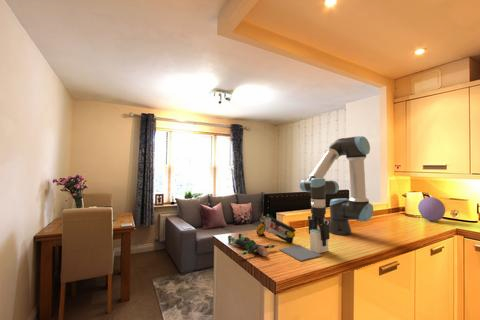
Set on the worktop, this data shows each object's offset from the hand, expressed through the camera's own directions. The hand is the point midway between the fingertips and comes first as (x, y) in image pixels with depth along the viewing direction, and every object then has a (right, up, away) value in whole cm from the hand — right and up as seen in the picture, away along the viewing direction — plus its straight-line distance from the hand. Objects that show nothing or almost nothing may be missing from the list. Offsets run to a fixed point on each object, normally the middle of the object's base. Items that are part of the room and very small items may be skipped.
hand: (318, 250), depth 122 cm
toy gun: (-21, -2, +21) cm, 29 cm away
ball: (+117, -3, +66) cm, 134 cm away
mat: (-11, 0, -3) cm, 11 cm away
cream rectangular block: (0, 0, 0) cm, 0 cm away
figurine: (-38, -1, +3) cm, 38 cm away
